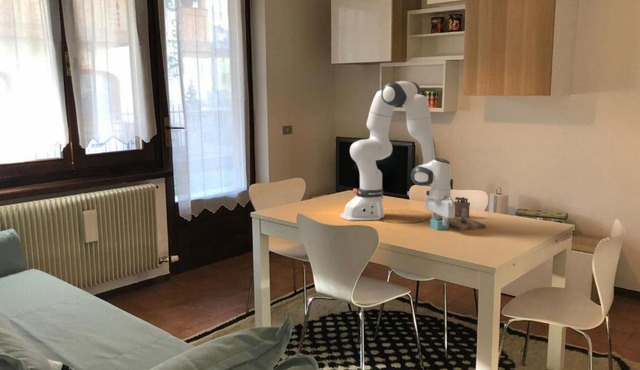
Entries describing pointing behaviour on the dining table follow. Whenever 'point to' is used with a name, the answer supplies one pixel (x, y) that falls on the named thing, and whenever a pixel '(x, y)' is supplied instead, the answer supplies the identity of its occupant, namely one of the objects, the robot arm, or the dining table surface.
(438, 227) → the collar
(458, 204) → the lighter
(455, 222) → the post base
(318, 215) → the dining table surface
